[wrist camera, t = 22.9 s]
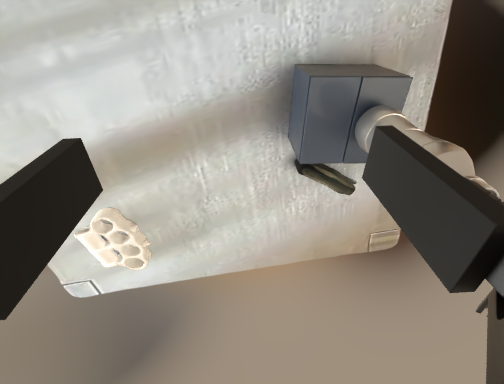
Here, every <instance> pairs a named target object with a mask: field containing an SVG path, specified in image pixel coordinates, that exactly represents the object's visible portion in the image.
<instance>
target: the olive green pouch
mask: <svg viewBox="0 0 504 384" xmlns="http://www.w3.org/2000/svg"><path fill="white" fill-rule="evenodd" d="M295 166H296V168H297V171H298V173H299V174H301V175H304V176H307V177H309V178H311V179H313V180H315V181H318V182H320V183H322V184H324V185H326V186H328V187H329V188H331V189H333V190H334V191H336V192H338V193H340V194H346V195H351V194H352V193H353V192H354V191H355V186H354V185H353V184H356V181H354V180H351V179H349V178H347V177H345V176H343V175H341V174H340V173H339V172H338V171H336V170H334V169H332V168H330V167H328V166H326V165H324V164H322V163H320V164H300V162H299V161H298V159H297V160H296V161H295Z"/></svg>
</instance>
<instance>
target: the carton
mask: <svg viewBox="0 0 504 384" xmlns="http://www.w3.org/2000/svg"><path fill="white" fill-rule="evenodd" d="M311 77H362V78H361V83H360V87H359V91H358V96H357V100H356V104H355V109H354V113H353V117H352V122H351V126H350V130H349V135H348V139H347V143H346V147H345V152H344V156H343V160H342V161H343V163H366V161H367V157H368V153H367V152H365V151H364V150H363V149H361V147H360V146H359V145H358V142H357V140H356V138H355V127H356V124H357V122H358V120H359V119H360V117H361V116H362V115H363V114H364V113H365V112H366V111H367V110H369V109H370V108H373V107H375V106H379V105H385V106H390V107H394V108H396V109H398V110H399V111H400V112H402V109H403V106H404V103H405V100H406V97H407V94H408V91H409V88H410V85H411V82H412V79H413V77H410V76H409V75H406V74H402V73H399V72H396V71H393V70H390V69H387V68H384V67H381V66H378V65H330V64H295V71H294V82H293V92H292V103H291V113H290V124H289V134H288V138H289V140H290V143H291V145H292V147H293V150H294V152H295V154H296V156H297V159H298V161H299V162H300V158H301V150H302V142H303V134H304V127H305V119H306V111H307V104H308V96H309V88H310V80H311Z"/></svg>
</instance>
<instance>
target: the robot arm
mask: <svg viewBox="0 0 504 384" xmlns="http://www.w3.org/2000/svg"><path fill="white" fill-rule="evenodd" d="M362 178H363V180H364V181H365V182H366V184H367V185H368V186H369V187H370V189H371V190H372V191H373V193H374V194H375V195H376V197H377V198H378V199H379V201H380V202H381V203H382V205H383V206H384V207H385V208H386V210H387V211H388V212H389V214H390V215H391V216H392V218H393V219H394V220H395V222H396V223H397V224H398V226H399V227H400V228H401V229H402V231H403V232H404V233H405V235H406V236H407V237H408V239H409V240H410V241H411V243H412V244H413V245H414V247H415V248H416V249H417V250H418V252H419V253H420V254H421V256H422V257H423V258H424V260H425V261H426V262H427V264H428V265H429V266H430V267H431V269H432V270H433V271H434V272H435V274H436V275H437V277H438V278H439V279H440V281H441V282H442V283H443V285H444V286H445V287H446V288H447V290H448V291H449V292H450V293H459V292H474V291H475V290H476V289H477V288H478V287H479V285H480V284H481V283H482V281H483V280H484V279H486V280H487V281H488V282H489V283H490V284H491V285H492V286H493V287H494V288H493V290H492V291H491V292H490V293H489V294H488V295H487V297H486V298H485V299H484V300H483V301H482V303H481V304H480V305H479V306H478V308H477V310H476V312H478V313H481V312H482V311H483V310H484V309H485V308H488V316H487V317H488V328H487V370H486V371H487V372H486V384H504V202H501V199H499V198H498V197H497V196H495V195H494V194H491V192H489V191H488V190H487V189H485V188H484V187H482V186H481V185H480V184H478V183H476V182H474V181H472V180H469V179H467V178H465V177H463V176H462V175H460V174H459V173H458V172H456V171H455V170H454V169H452V168H451V167H449V166H448V165H447V164H445V163H444V162H442V161H441V160H440V159H438V158H437V157H435V156H434V155H433V154H431V153H430V152H429V151H427V150H426V149H424V148H423V147H422V146H420V145H419V144H417V143H416V142H415V141H413V140H412V139H411V138H409V137H408V136H406V135H405V134H404V133H402V132H401V131H399V130H398V129H397V128H395V127H394V126H393V125H387V126H375V130H374V134H373V138H372V142H371V146H370V150H369V153H368V157H367V161H366V165H365V169H364V173H363V176H362ZM102 191H103V189H102V186H101V184H100V182H99V179H98V177H97V175H96V172H95V170H94V168H93V165H92V163H91V161H90V158H89V156H88V154H87V151H86V149H85V147H84V144H83V142H82V140H81V138H73V139H62V140H61V141H60V142H58V143H57V144H55V145H54V146H53V147H51V148H50V149H49V150H47V151H46V152H44V153H43V154H42V155H40V156H39V157H38V158H36V159H35V160H33V161H32V162H31V163H29V164H28V165H27V166H25V167H24V168H22V169H21V170H20V171H18V172H17V173H16V174H14V175H13V176H11V177H10V178H9V179H7V180H6V181H5V182H3V183H2V184H0V320H5V319H6V318H7V317H8V316H9V315H10V313H11V312H12V311H13V309H14V308H15V307H16V305H17V304H18V303H19V301H20V300H21V299H22V297H23V296H24V295H25V293H26V292H27V291H28V289H29V288H30V287H31V285H32V284H33V283H34V281H35V280H36V279H37V277H38V276H39V274H40V273H41V272H42V271H43V269H44V268H45V267H46V265H47V264H48V263H49V261H50V260H51V259H52V257H53V256H54V255H55V253H56V252H57V251H58V249H59V248H60V247H61V245H62V244H63V243H64V241H65V240H66V239H67V237H68V236H69V235H70V233H71V232H72V231H73V229H74V228H75V227H76V225H77V224H78V223H79V221H80V220H81V219H82V217H83V216H84V215H85V213H86V212H87V211H88V209H89V208H90V207H91V205H92V204H93V203H94V201H95V200H96V199H97V197H98V196H99V195H100V193H101V192H102Z"/></svg>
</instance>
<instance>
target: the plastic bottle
mask: <svg viewBox="0 0 504 384" xmlns="http://www.w3.org/2000/svg"><path fill="white" fill-rule="evenodd" d="M387 125H393V126H394V127H395V128H397V129H398V130H399V131H401V132H402V133H404V134H405V135H406V136H408V137H409V138H411V139H412V140H413V141H415V142H416V143H417V144H419V145H420V146H422V147H423V148H424V149H426V150H427V151H429V152H430V153H431V154H433V155H434V156H435V157H437V158H438V159H440V160H441V161H442V162H444V163H445V164H447V165H448V166H449V167H451V168H452V169H454V170H455V171H456V172H458V173H459V174H460V175H462V176H463V177H465V178H467V179H469V180H472V181H474V182H476V183H478V184H480V185H481V186H482V187H484V188H485V189H487V190H488V191H489V192H491V194H494V195H495V196H497V197H498V198H499V193H498V192H497V191H496V190H495V189H494V188H493V187H491V186H490V185H488V184H486V182H485V181H484V180H483V179H481V178H479V177H477V176H475V172H474V167H473V162H472V160H471V158H470V156H469V155H468V154H467V152H466V151H465V150H464V149H463V148H461V147H459V146H457V145H455V144H453V143H450V142H448V141H445V140H442V139H439V138H436V137H433V136H431V135H429V134H427V133H425V132H423V131H421V130H420V129H418V128H416V127H415V126H414V125H413V124H411V123H410V122H409V121H408V120H407V119H406V117H405V116H404V115H403V114H402V113H401V112H400V111H399V110H398V109H396V108H394V107H390V106H385V105H379V106H375V107H373V108H370V109H369V110H367V111H366V112H365V113H364V114H363V115H362V116H361V117H360V119H359V120H358V122H357V124H356V127H355V138H356V140H357V142H358V145H359V146H360V147H361V149H363V150H364V151H365V152H367V153H369V150H370V146H371V142H372V138H373V134H374V130H375V126H387Z"/></svg>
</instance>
